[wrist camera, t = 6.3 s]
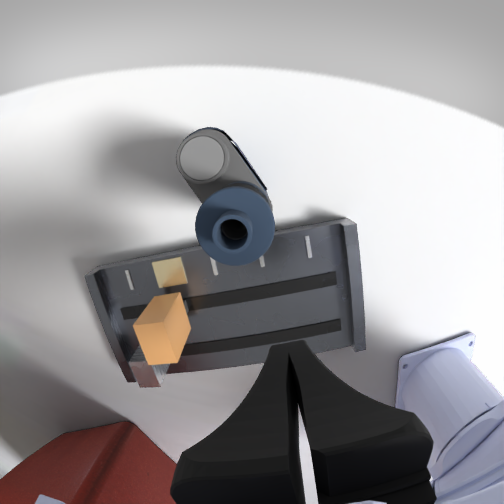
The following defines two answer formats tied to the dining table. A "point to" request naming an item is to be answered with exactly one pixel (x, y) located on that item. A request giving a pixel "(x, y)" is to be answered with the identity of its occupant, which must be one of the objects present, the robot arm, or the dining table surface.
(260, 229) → the vaping device
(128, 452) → the plant pot
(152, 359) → the orange fader
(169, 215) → the dining table surface
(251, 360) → the mixer console
